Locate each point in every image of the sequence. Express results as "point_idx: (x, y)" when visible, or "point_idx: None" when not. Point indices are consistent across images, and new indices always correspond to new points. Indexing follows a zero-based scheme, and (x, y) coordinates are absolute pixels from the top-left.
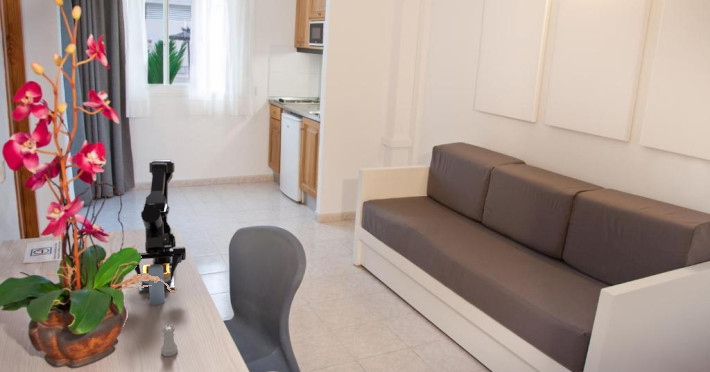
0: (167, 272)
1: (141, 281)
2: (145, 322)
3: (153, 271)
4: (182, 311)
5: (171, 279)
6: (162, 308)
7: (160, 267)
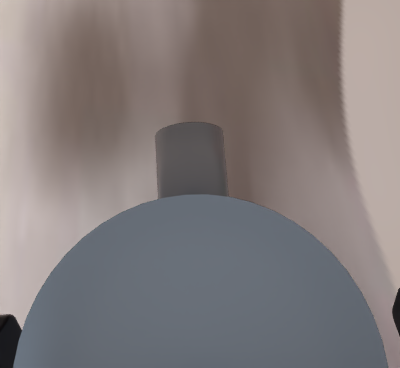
0: None
1: (396, 317)
2: (258, 39)
3: (236, 201)
4: (43, 137)
5: (14, 329)
6: None
7: (78, 365)
